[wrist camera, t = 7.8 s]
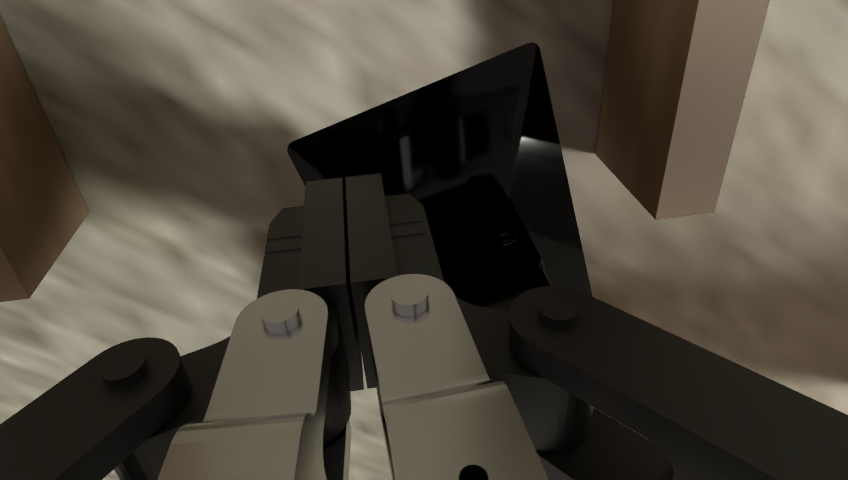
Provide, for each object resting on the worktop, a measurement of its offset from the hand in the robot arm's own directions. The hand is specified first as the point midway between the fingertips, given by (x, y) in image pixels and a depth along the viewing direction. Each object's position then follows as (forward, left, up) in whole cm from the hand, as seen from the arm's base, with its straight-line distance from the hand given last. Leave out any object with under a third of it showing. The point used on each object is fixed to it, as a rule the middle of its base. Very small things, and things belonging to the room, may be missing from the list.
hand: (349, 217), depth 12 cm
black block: (+3, +3, -2) cm, 5 cm away
